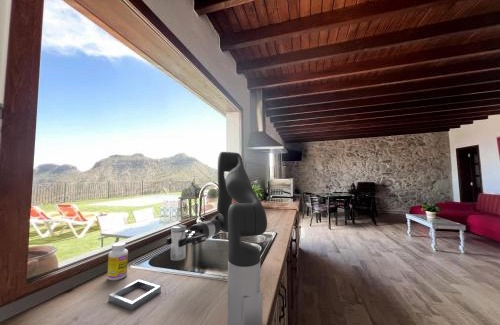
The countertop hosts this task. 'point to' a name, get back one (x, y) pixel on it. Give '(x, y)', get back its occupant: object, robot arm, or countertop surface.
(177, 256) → the lidded metal canister
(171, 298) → the countertop surface
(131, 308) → the collar
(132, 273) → the countertop surface
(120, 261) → the supplement bottle
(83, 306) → the countertop surface
